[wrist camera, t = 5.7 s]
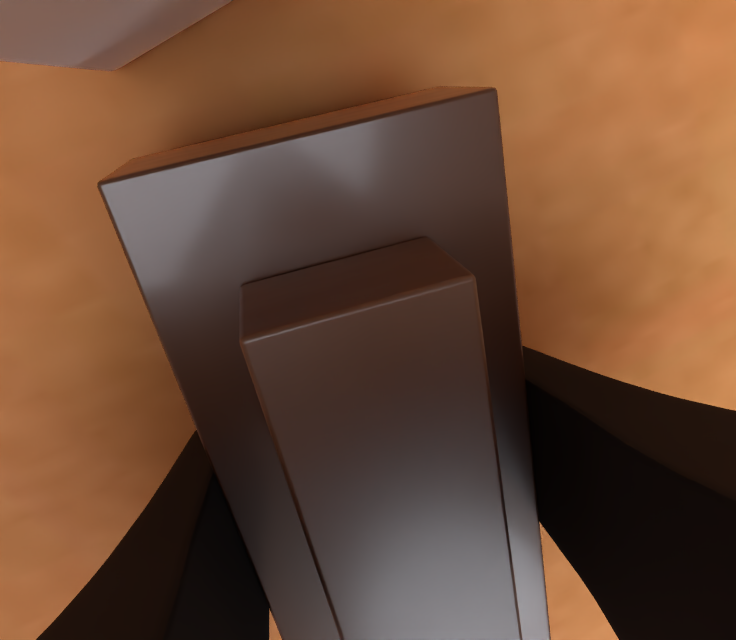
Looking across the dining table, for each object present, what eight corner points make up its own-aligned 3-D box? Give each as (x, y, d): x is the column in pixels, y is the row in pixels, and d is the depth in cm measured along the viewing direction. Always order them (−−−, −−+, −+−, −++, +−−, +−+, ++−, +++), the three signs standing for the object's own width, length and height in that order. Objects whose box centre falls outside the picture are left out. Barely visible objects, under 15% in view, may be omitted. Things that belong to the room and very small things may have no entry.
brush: (485, 546, 14) (603, 767, 10) (309, 604, 14) (344, 867, 9) (413, 85, 10) (573, 86, 5) (144, 148, 9) (47, 214, 5)
